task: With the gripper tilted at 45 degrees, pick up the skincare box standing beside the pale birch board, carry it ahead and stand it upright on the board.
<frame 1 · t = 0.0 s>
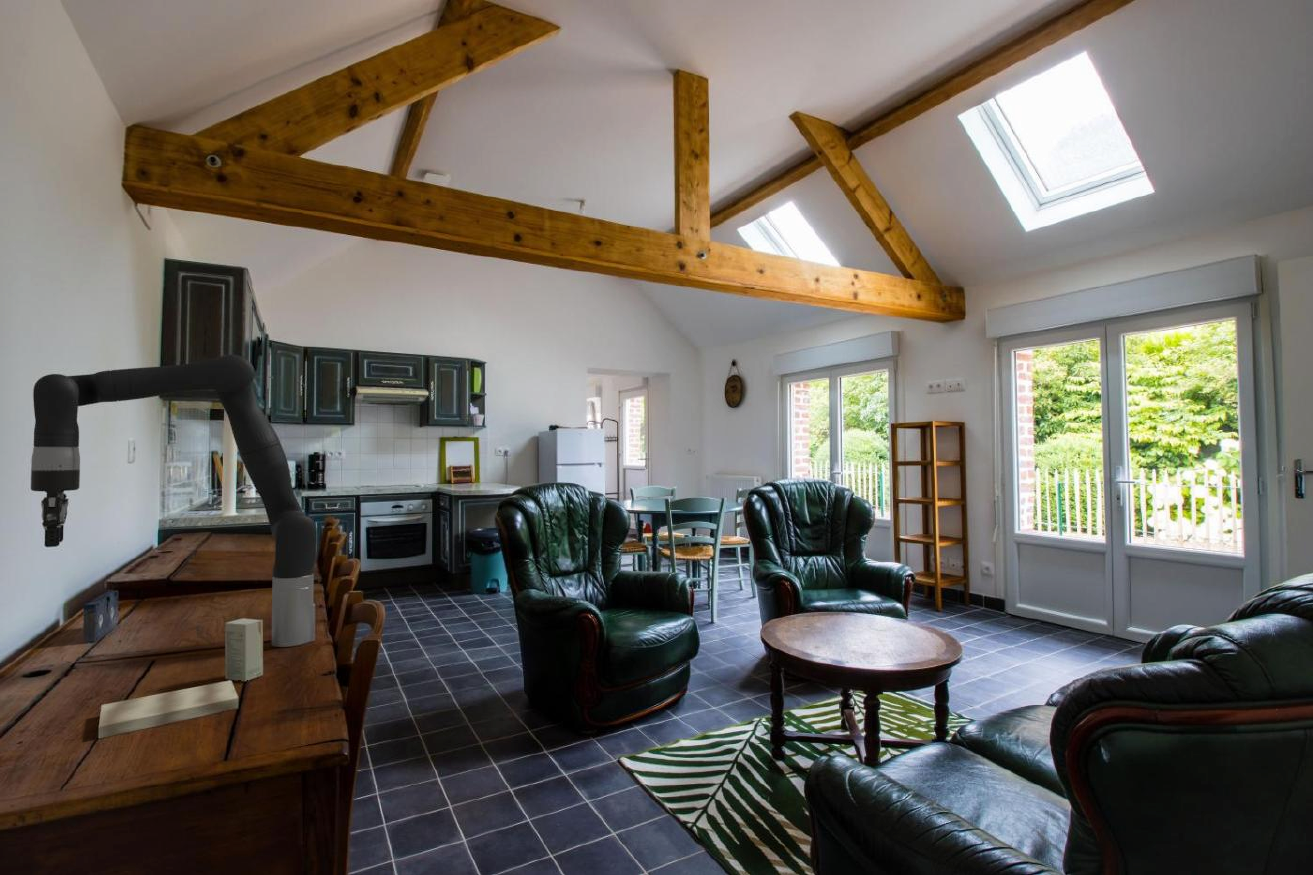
hand: (54, 544, 133), 29 cm above the table, tool pointing down, fingers open, 8 cm apart
vhs cassette tape: (101, 635, 168), on the table
skincare box: (243, 678, 136), on the table
birch board: (170, 712, 118), on the table
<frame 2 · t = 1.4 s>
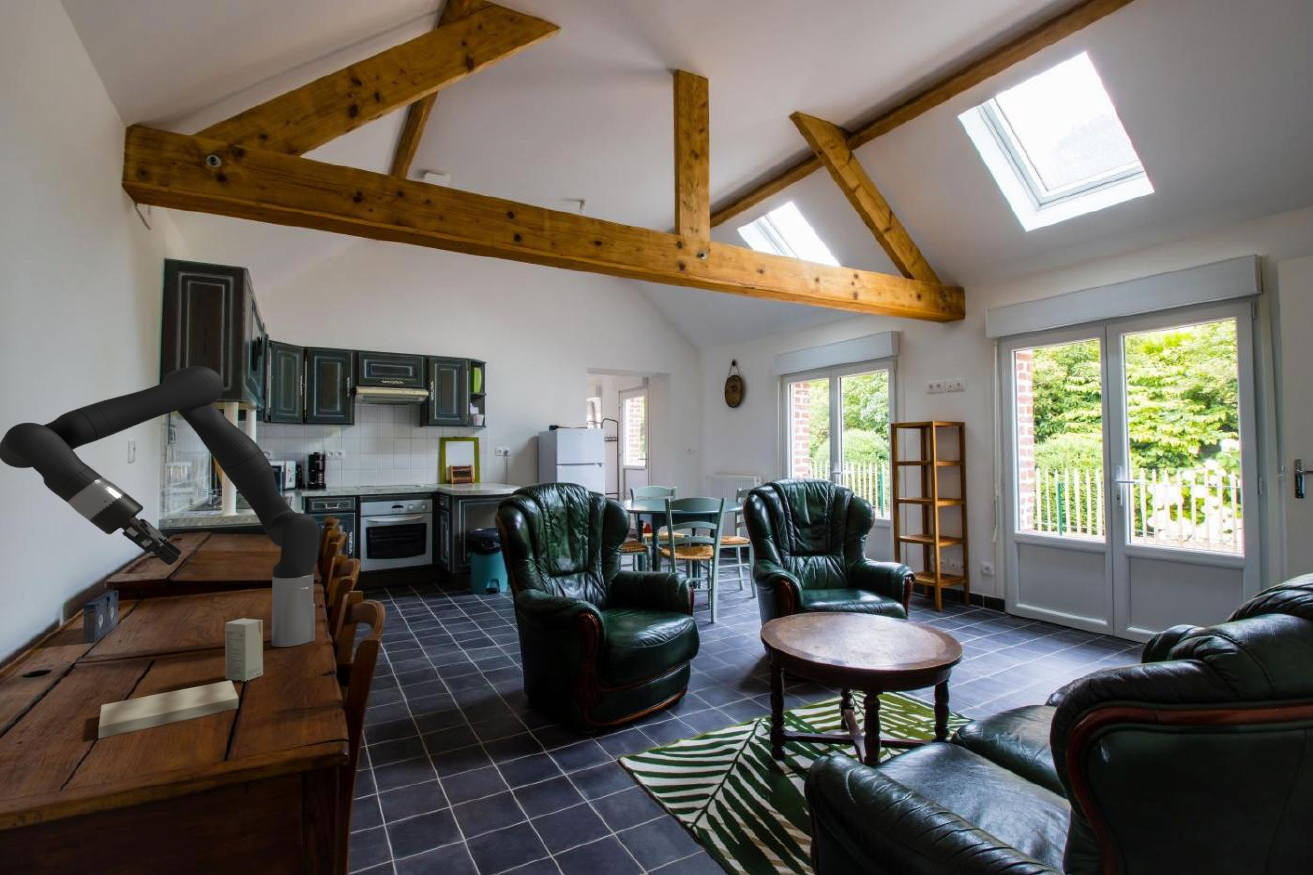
hand: (176, 558, 130), 27 cm above the table, tool tilted 45°, fingers open, 8 cm apart
nothing on the table moved.
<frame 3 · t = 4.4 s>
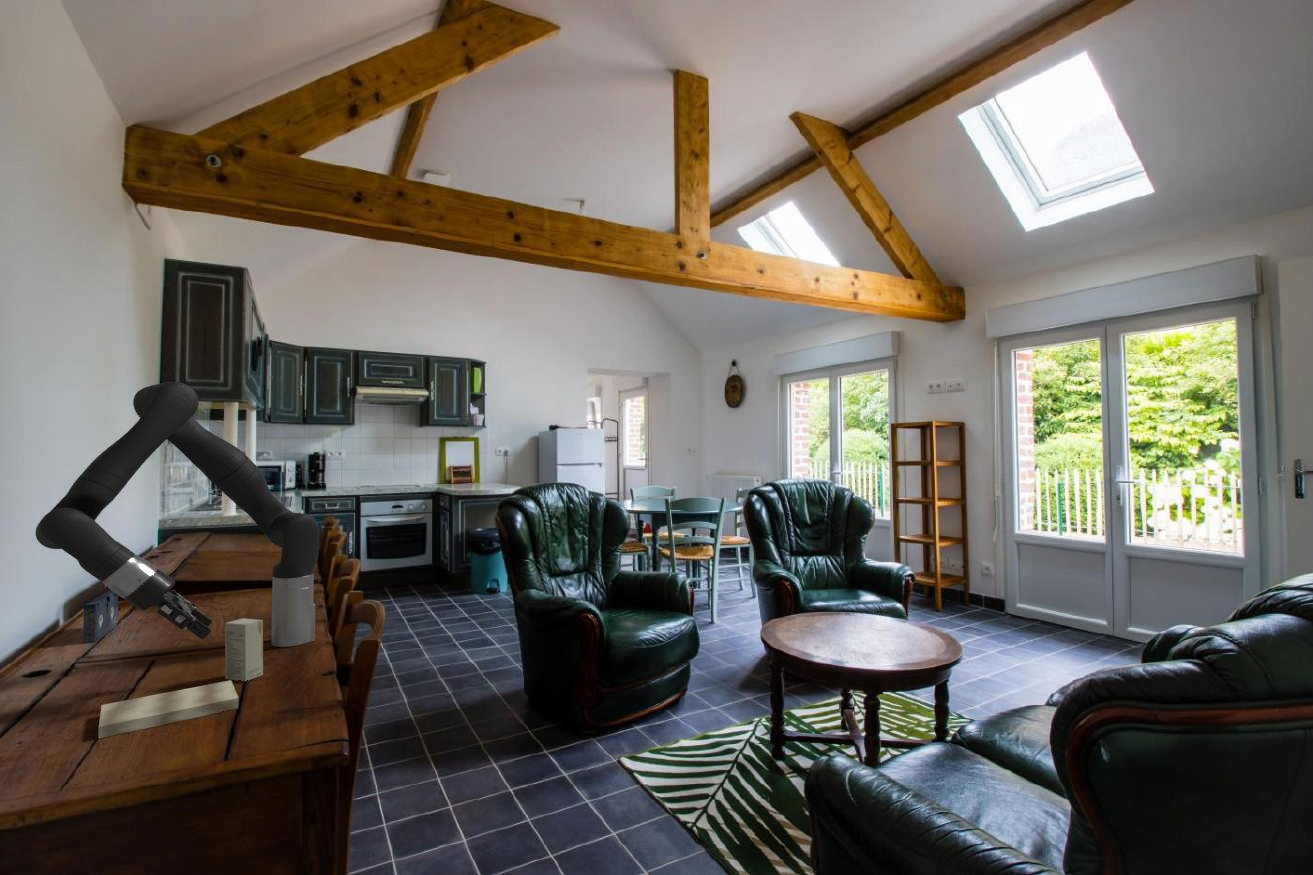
hand: (208, 630, 133), 11 cm above the table, tool tilted 45°, fingers open, 8 cm apart
nothing on the table moved.
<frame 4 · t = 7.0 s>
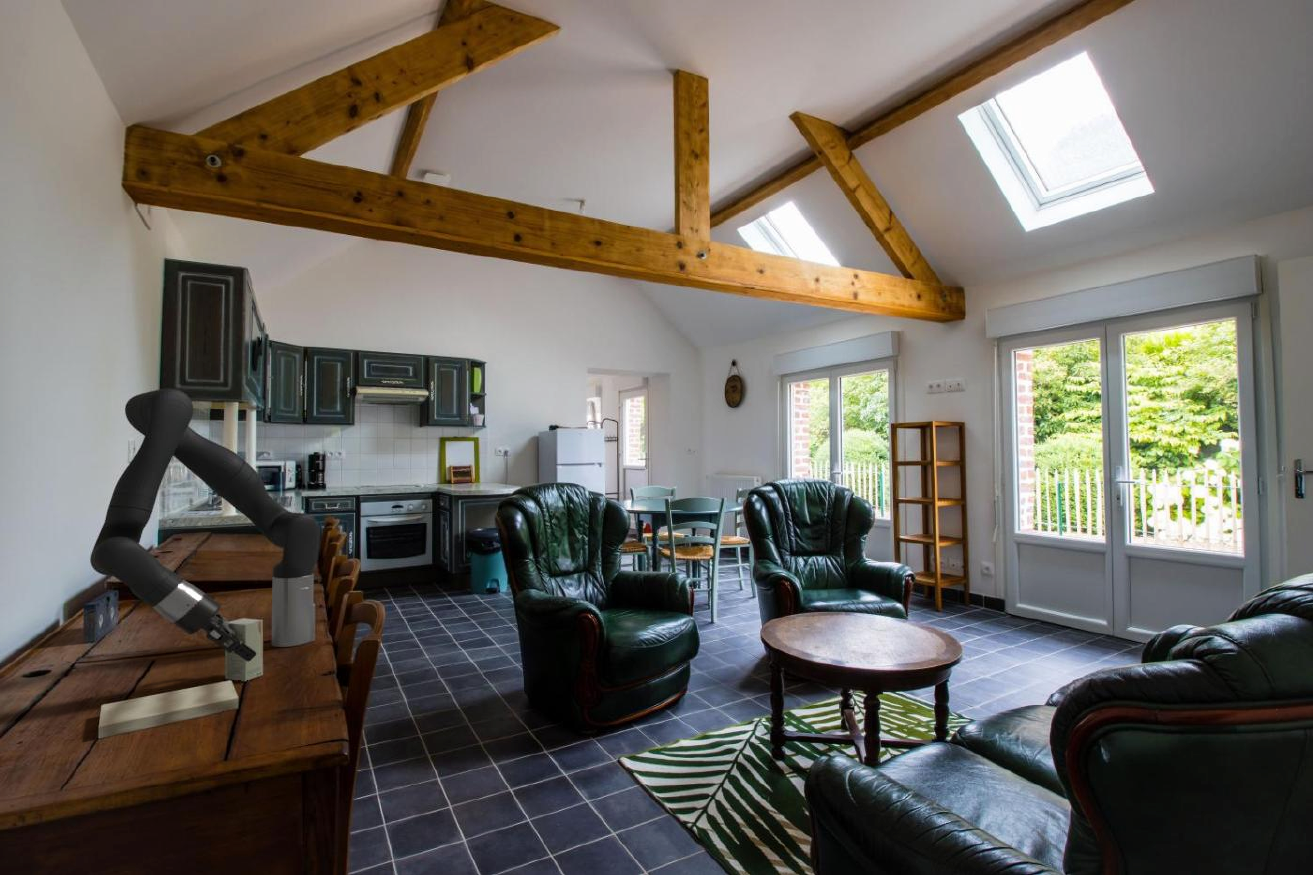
hand: (252, 652, 137), 5 cm above the table, tool tilted 45°, fingers closed on skincare box, 7 cm apart
skincare box: (243, 678, 136), on the table, touching gripper
everything else where it was.
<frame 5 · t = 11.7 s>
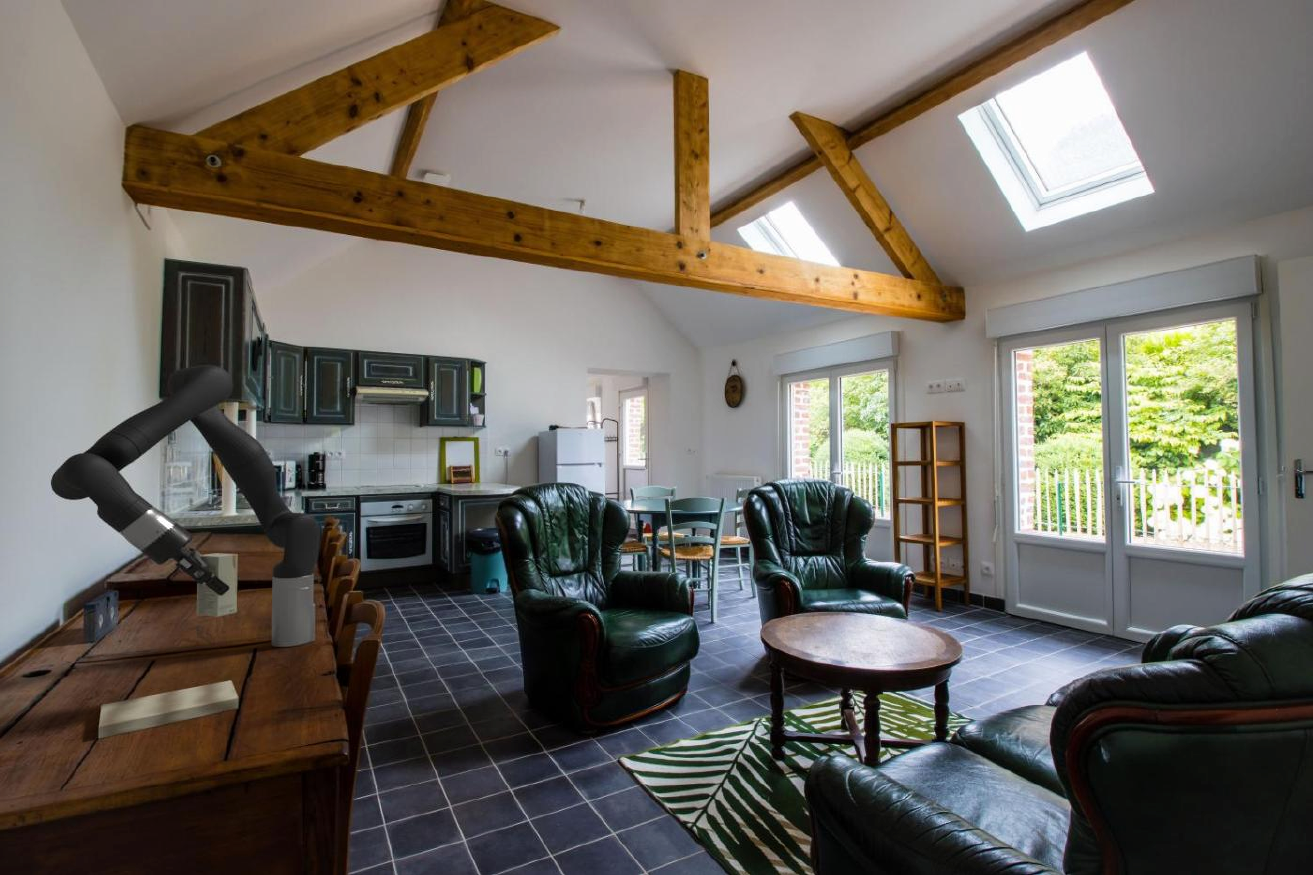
hand: (225, 588, 130), 21 cm above the table, tool tilted 45°, fingers closed on skincare box, 7 cm apart
skincare box: (216, 615, 129), point 15 cm above the table, touching gripper
everything else where it was.
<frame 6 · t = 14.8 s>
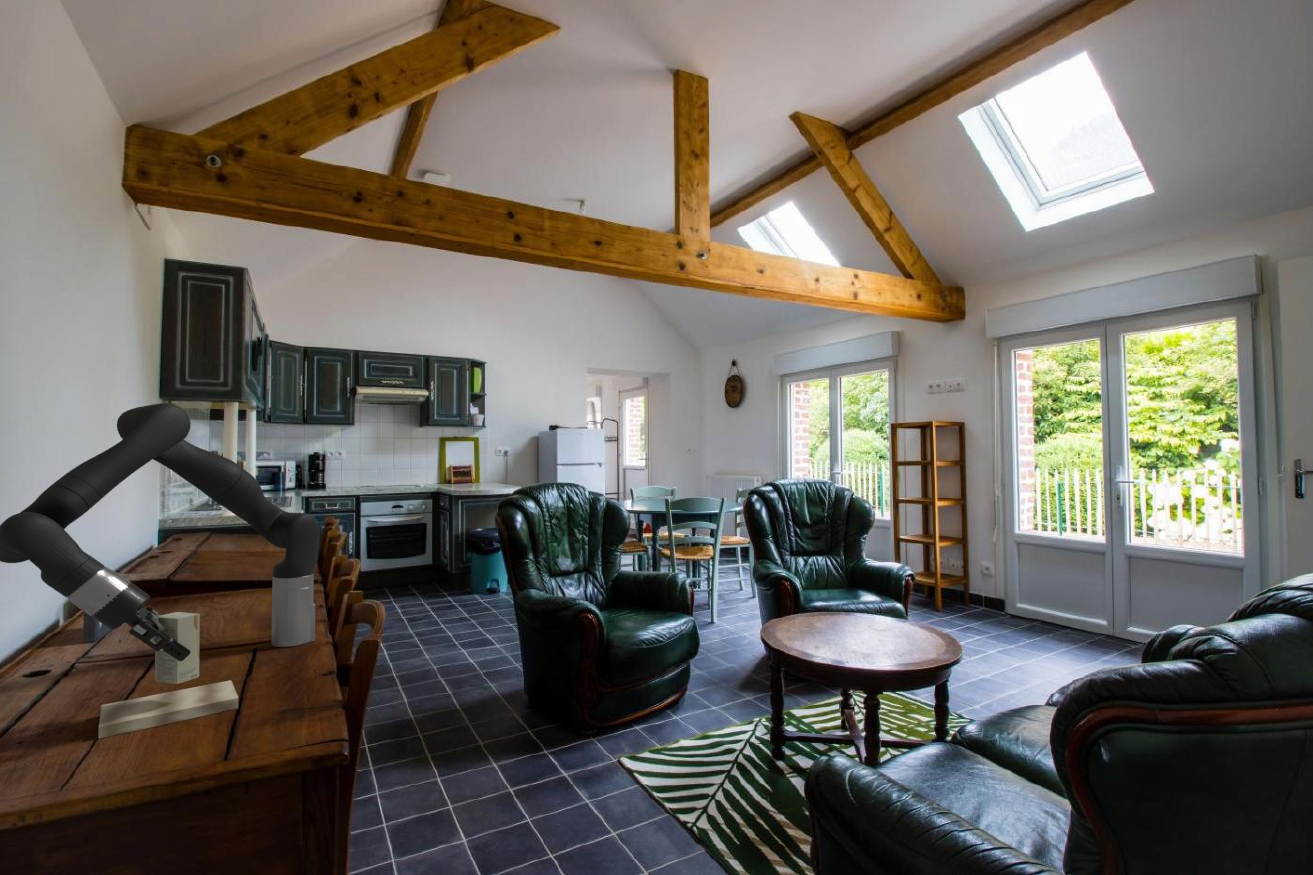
hand: (187, 651, 120), 11 cm above the table, tool tilted 45°, fingers closed on skincare box, 7 cm apart
skincare box: (176, 680, 119), point 6 cm above the table, touching gripper
everything else where it was.
when the fingers open (8 cm above the table, at t = 16.7 s): skincare box stays where it is, resting on birch board.
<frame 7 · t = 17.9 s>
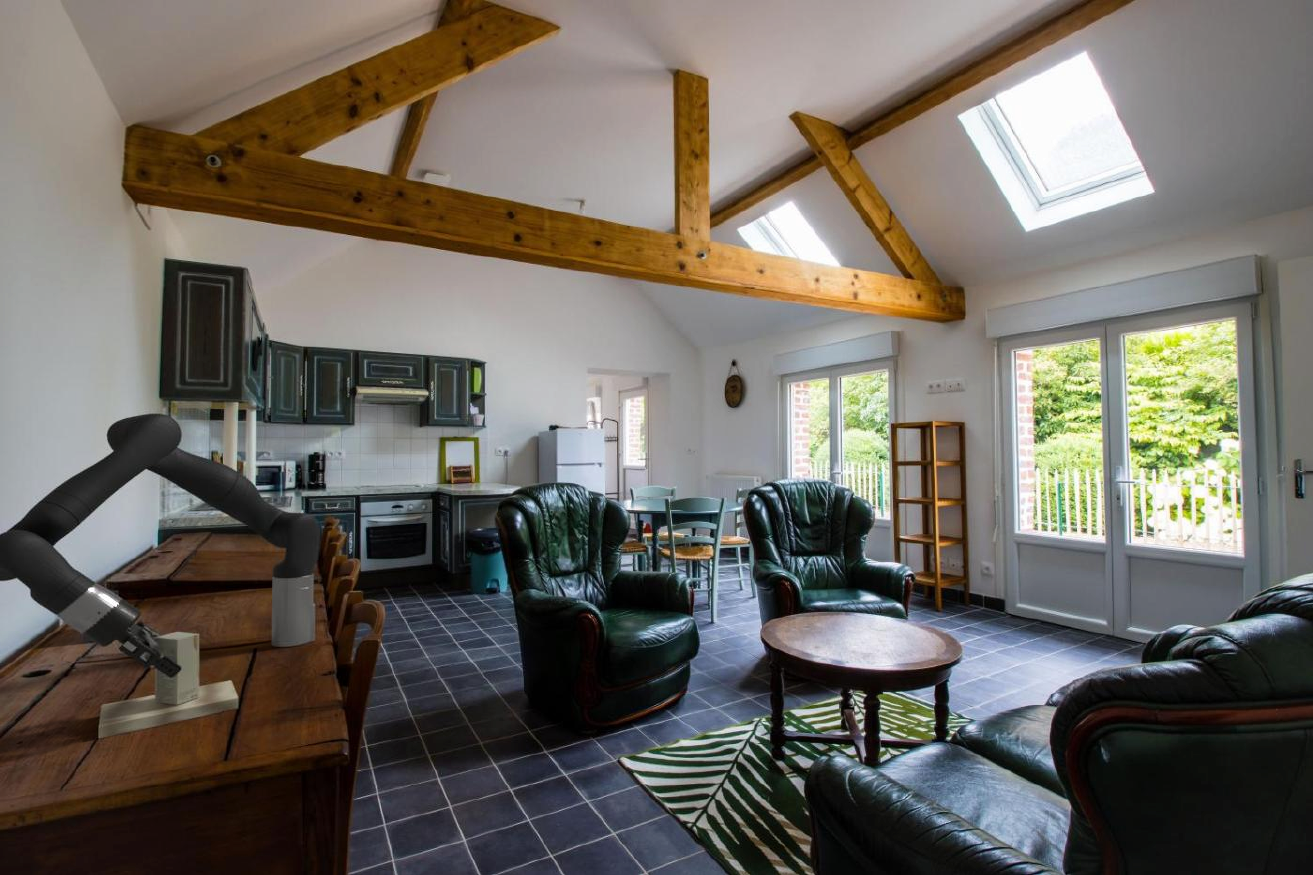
hand: (178, 666, 119), 8 cm above the table, tool tilted 45°, fingers open, 8 cm apart
skincare box: (176, 700, 119), point 2 cm above the table, touching birch board, gripper
everything else where it was.
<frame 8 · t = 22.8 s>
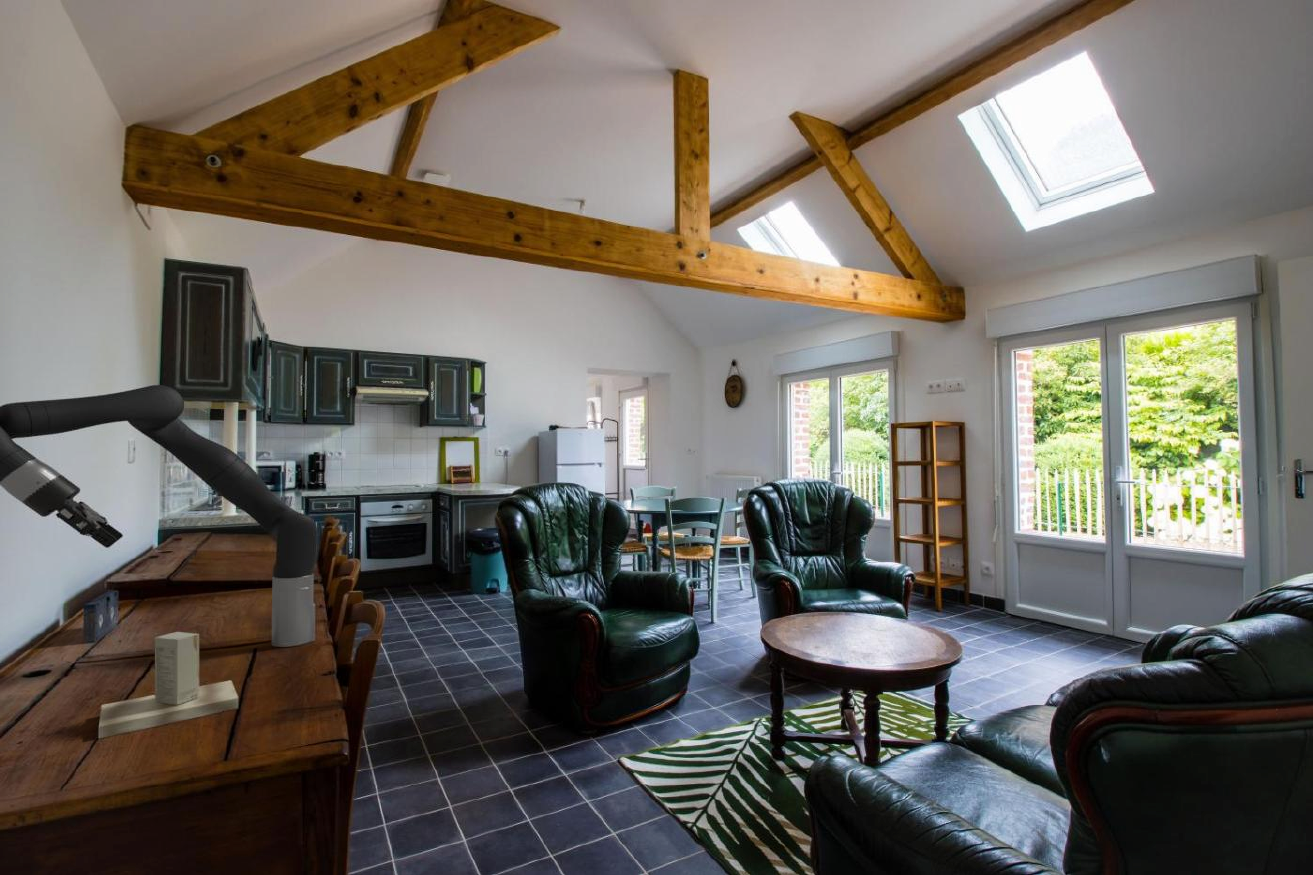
hand: (116, 541, 128), 31 cm above the table, tool tilted 45°, fingers open, 8 cm apart
skincare box: (176, 700, 119), point 2 cm above the table, touching birch board
everything else where it was.
at the end: skincare box inside the target area on the birch board (0.9 cm from its centre), point 1.8 cm above the birch board's base; skincare box tilted 0°; the gripper is holding nothing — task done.
